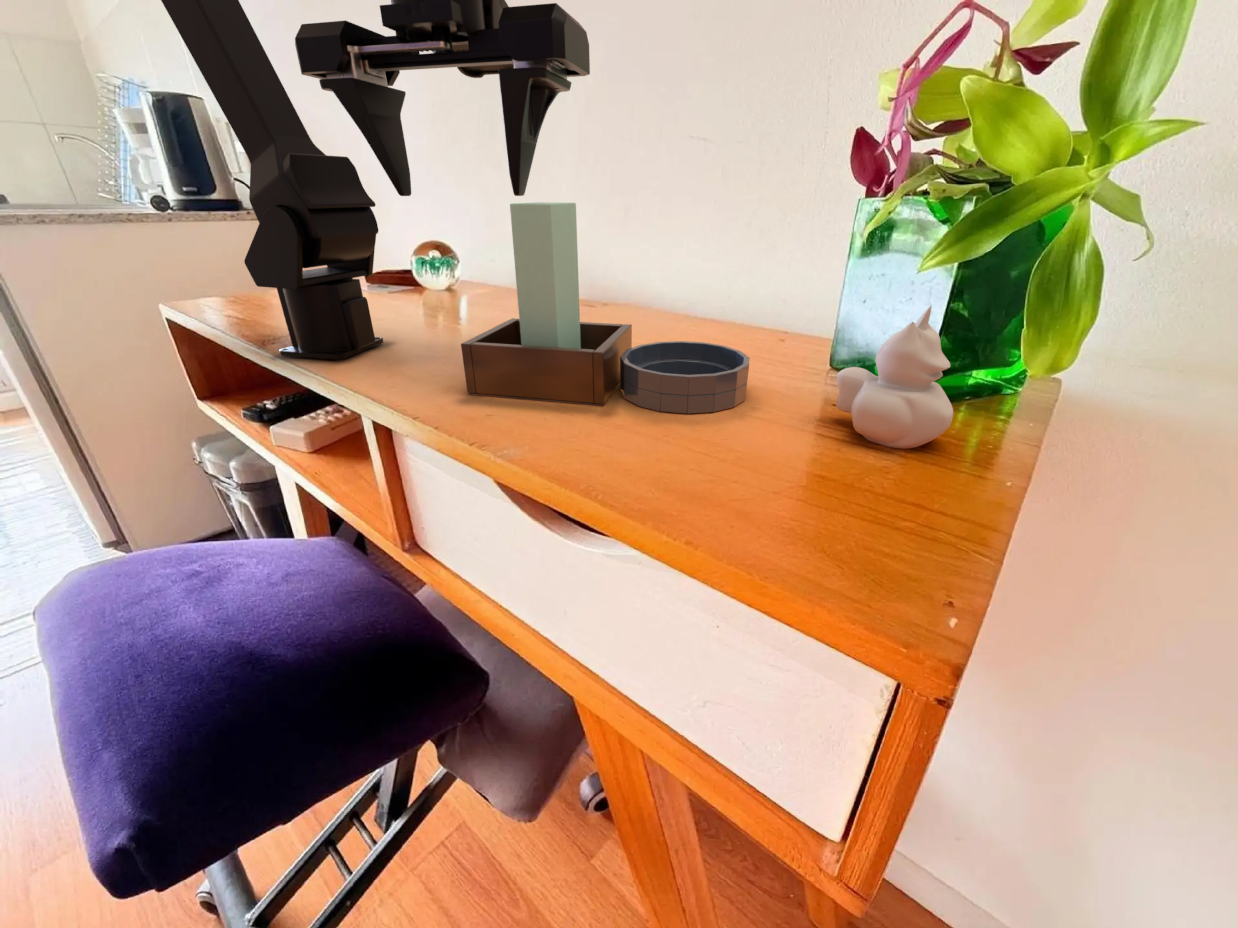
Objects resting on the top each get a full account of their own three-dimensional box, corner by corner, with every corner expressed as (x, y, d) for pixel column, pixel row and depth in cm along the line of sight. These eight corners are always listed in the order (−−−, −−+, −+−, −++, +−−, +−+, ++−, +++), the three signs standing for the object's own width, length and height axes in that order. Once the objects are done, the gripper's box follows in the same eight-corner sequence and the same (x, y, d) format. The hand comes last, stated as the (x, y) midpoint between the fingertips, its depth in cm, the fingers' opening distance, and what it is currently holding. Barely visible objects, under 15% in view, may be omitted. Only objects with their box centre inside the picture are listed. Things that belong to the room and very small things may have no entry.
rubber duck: (919, 473, 29) (962, 319, 25) (806, 435, 33) (829, 300, 29) (957, 444, 32) (1000, 304, 28) (850, 413, 36) (875, 289, 33)
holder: (468, 401, 39) (460, 343, 37) (515, 367, 46) (511, 318, 44) (604, 413, 37) (603, 352, 35) (631, 375, 44) (631, 324, 42)
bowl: (607, 414, 36) (606, 370, 35) (635, 375, 44) (636, 338, 43) (742, 426, 34) (747, 380, 33) (747, 383, 42) (751, 344, 41)
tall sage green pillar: (524, 384, 40) (509, 203, 35) (548, 371, 43) (537, 202, 38) (560, 389, 39) (550, 203, 34) (582, 375, 42) (576, 202, 37)
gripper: (609, -55, 38) (611, 194, 45) (375, -31, 42) (411, 195, 49) (554, -138, 28) (568, 196, 35) (257, -96, 32) (322, 196, 39)
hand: (461, 196), depth 40 cm, fingers open, 9 cm apart
